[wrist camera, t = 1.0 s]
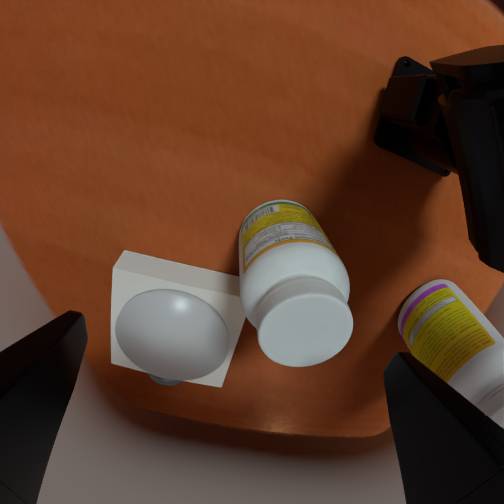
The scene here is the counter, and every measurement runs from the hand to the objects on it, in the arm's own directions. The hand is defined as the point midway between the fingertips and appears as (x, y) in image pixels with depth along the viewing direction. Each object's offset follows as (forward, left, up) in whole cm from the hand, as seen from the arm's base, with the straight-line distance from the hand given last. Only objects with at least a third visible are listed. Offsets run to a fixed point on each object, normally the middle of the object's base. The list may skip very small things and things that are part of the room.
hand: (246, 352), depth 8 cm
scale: (+2, +10, -13) cm, 16 cm away
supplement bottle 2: (-18, +5, -13) cm, 23 cm away
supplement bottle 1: (-3, +2, -13) cm, 14 cm away
